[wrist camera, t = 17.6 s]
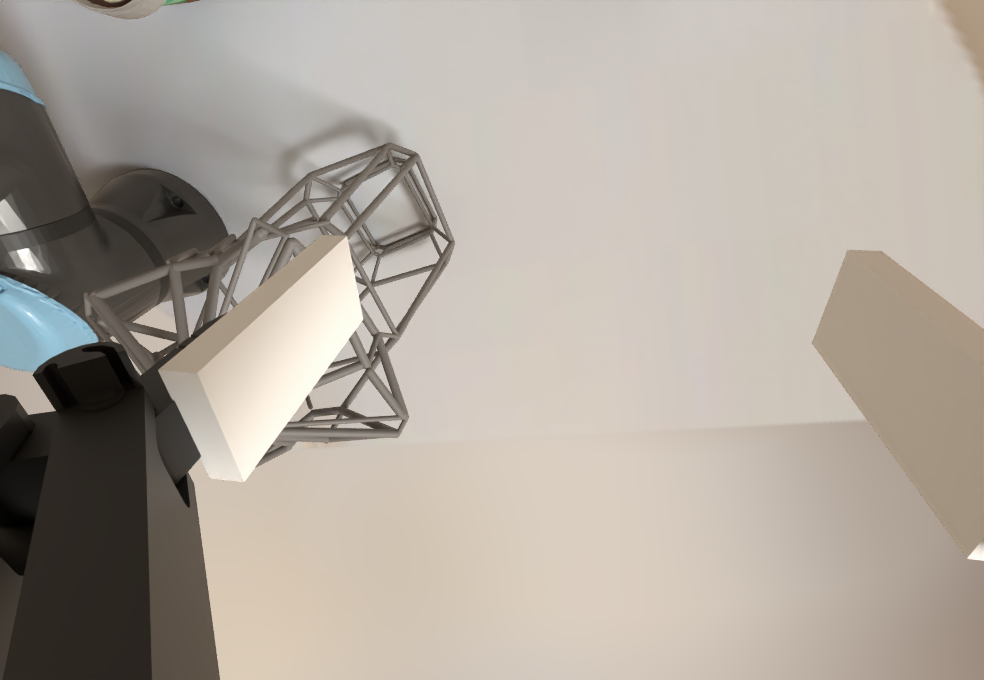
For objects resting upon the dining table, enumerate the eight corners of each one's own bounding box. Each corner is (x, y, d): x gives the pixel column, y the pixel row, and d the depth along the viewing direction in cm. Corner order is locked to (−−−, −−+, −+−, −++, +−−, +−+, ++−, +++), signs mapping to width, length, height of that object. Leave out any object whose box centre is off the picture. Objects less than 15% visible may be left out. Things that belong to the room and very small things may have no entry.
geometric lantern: (424, 107, 48) (212, 253, 19) (484, 250, 56) (394, 508, 27) (295, 163, 53) (-31, 346, 24) (366, 287, 61) (182, 541, 32)
